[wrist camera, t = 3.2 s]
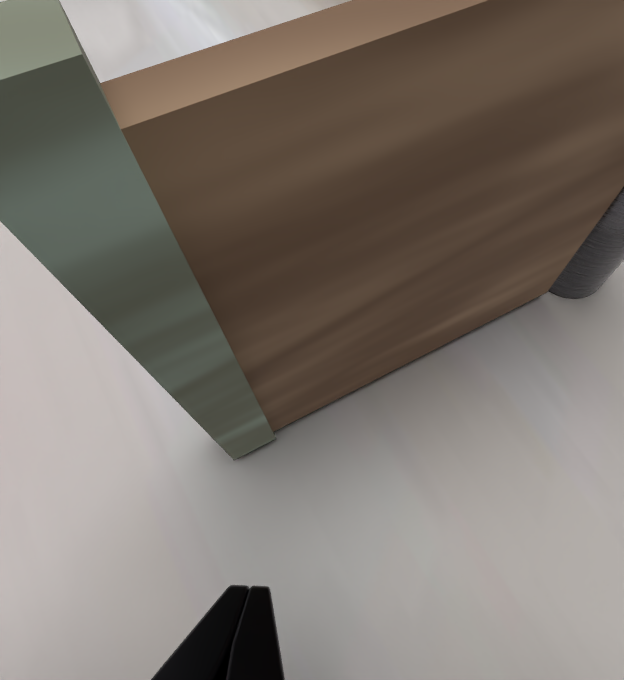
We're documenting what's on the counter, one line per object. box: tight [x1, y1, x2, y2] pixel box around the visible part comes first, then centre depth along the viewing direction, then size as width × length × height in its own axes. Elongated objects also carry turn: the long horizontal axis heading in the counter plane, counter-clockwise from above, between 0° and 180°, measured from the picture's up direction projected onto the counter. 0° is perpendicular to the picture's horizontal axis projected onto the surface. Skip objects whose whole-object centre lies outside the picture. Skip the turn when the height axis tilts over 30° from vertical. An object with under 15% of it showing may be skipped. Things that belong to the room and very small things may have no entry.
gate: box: [0, 0, 624, 460], centre depth 12 cm, size 2×16×14 cm, turn 117°
